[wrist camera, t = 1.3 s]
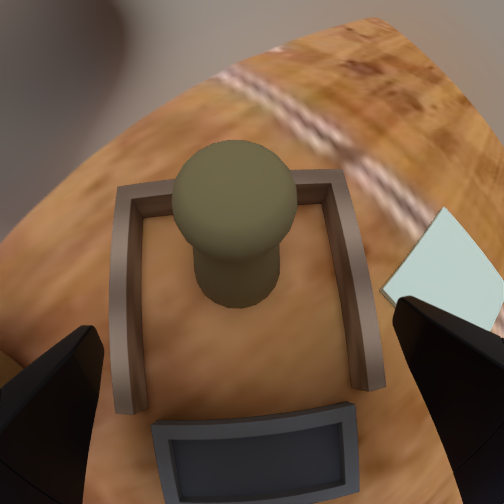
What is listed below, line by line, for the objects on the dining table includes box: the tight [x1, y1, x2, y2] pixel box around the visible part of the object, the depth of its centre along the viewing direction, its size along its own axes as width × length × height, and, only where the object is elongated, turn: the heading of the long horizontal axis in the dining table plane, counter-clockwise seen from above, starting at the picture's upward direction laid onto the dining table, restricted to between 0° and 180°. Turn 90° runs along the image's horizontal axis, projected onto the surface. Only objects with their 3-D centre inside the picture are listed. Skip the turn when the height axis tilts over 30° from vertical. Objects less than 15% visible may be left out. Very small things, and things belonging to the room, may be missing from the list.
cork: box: [171, 140, 297, 308], centre depth 16 cm, size 6×6×11 cm
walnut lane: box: [109, 169, 386, 415], centre depth 19 cm, size 15×16×3 cm
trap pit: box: [151, 401, 359, 504], centre depth 15 cm, size 7×13×2 cm, turn 96°
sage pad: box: [380, 207, 504, 331], centre depth 20 cm, size 11×11×1 cm
